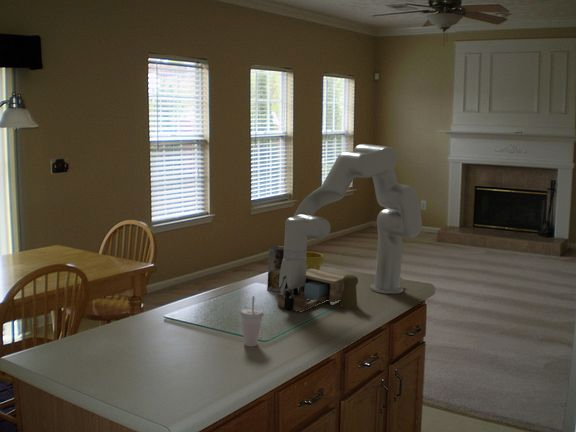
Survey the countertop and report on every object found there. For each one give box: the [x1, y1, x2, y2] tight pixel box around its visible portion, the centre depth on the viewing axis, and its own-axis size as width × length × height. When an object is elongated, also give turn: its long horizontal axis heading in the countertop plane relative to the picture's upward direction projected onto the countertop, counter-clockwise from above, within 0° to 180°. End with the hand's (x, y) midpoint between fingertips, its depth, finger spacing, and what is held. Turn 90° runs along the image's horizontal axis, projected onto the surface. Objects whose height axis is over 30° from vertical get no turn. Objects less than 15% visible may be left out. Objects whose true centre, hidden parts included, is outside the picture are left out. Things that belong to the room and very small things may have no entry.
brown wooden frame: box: [277, 288, 330, 312], centre depth 228 cm, size 21×9×4 cm, turn 146°
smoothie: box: [240, 296, 264, 347], centre depth 184 cm, size 6×6×14 cm
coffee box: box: [266, 244, 290, 293], centre depth 243 cm, size 9×6×16 cm
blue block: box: [304, 280, 328, 300], centre depth 233 cm, size 6×6×6 cm
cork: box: [339, 274, 359, 310], centre depth 227 cm, size 6×6×11 cm
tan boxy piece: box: [301, 269, 346, 303], centre depth 236 cm, size 10×16×8 cm, turn 56°
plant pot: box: [306, 251, 324, 270], centre depth 263 cm, size 10×10×10 cm
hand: (291, 307), depth 221 cm, fingers closed on brown wooden frame, 3 cm apart
